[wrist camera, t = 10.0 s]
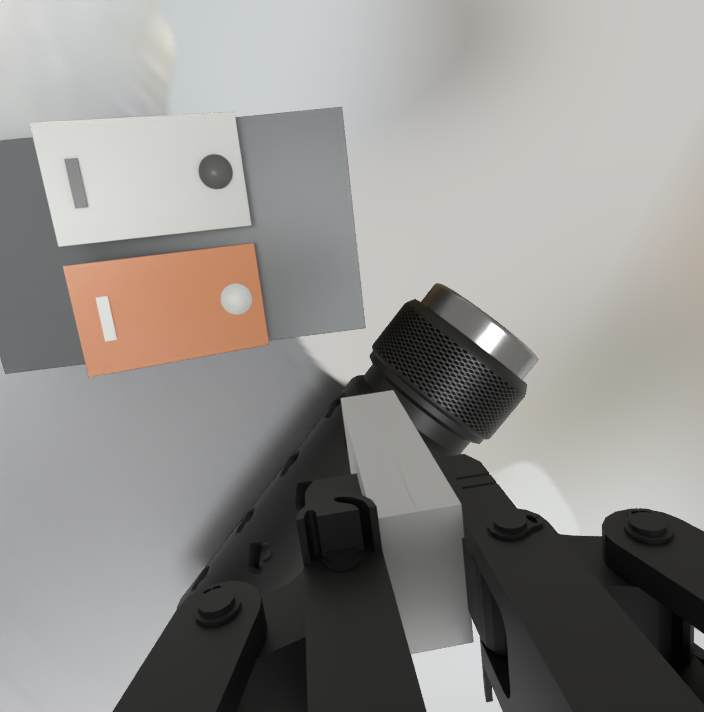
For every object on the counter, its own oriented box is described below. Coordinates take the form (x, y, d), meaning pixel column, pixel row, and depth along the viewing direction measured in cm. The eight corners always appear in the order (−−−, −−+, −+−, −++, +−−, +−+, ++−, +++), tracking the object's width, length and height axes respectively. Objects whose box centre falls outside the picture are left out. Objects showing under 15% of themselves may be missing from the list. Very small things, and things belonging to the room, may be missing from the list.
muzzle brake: (188, 557, 43) (155, 659, 33) (411, 267, 39) (450, 282, 29) (288, 615, 45) (285, 728, 35) (508, 345, 41) (576, 383, 31)
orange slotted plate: (90, 372, 31) (88, 378, 30) (65, 265, 29) (62, 266, 28) (264, 341, 34) (269, 345, 33) (250, 243, 33) (254, 243, 31)
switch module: (-48, 366, 38) (-108, 390, 32) (-107, 167, 34) (-184, 155, 29) (357, 315, 39) (367, 330, 34) (335, 122, 36) (343, 104, 31)
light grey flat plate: (62, 246, 29) (57, 246, 28) (35, 127, 28) (28, 121, 27) (248, 225, 32) (252, 225, 31) (232, 116, 31) (234, 110, 29)
